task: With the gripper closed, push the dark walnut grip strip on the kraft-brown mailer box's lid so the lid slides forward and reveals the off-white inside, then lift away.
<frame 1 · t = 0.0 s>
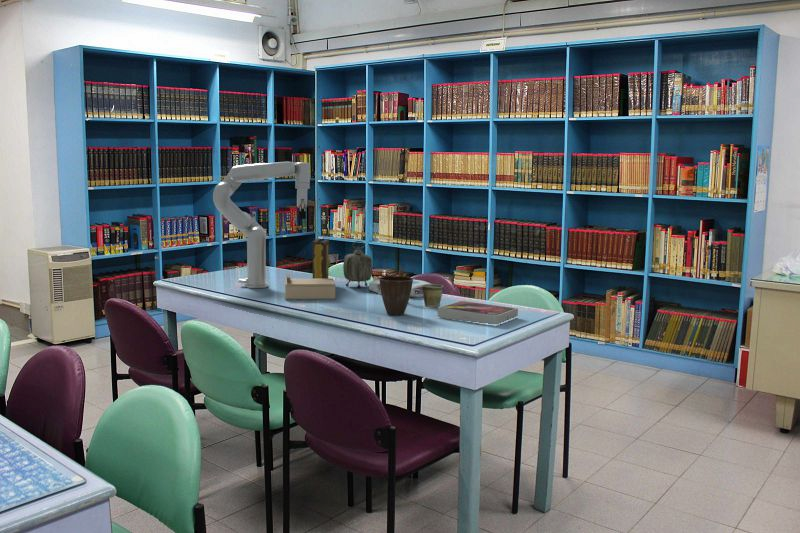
hand: (302, 218, 377), 37 cm above the table, tool pointing down, fingers open, 9 cm apart
hand bell: (399, 302, 345), on the table
plant pot: (395, 314, 315), on the table
product packaging: (477, 319, 311), on the table
mailer box: (309, 296, 353), on the table
grey rounded piece: (357, 287, 385), on the table
book: (320, 286, 383), on the table
ceramic cup: (433, 306, 336), on the table
mailer lid: (309, 279, 352), point 9 cm above the table, slide at 0.0 cm
document scanner: (401, 293, 371), on the table
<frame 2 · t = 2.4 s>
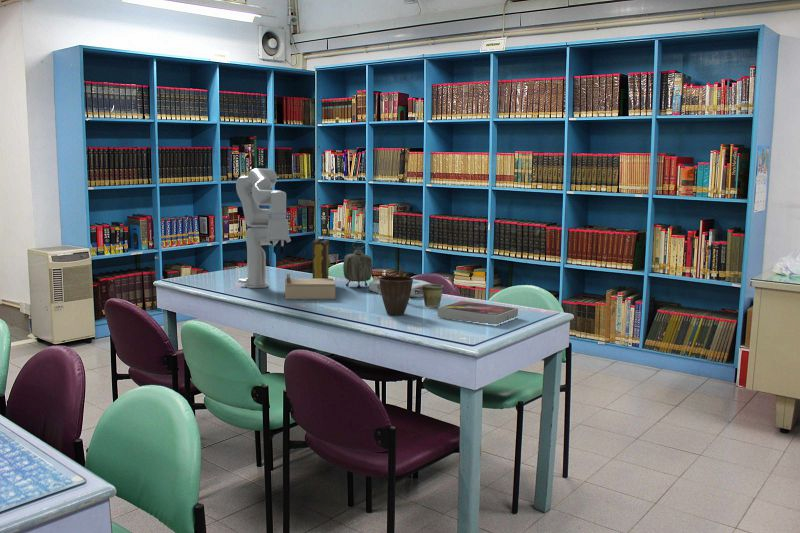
hand: (278, 253, 348), 21 cm above the table, tool pointing down, fingers closed
nothing on the table moved.
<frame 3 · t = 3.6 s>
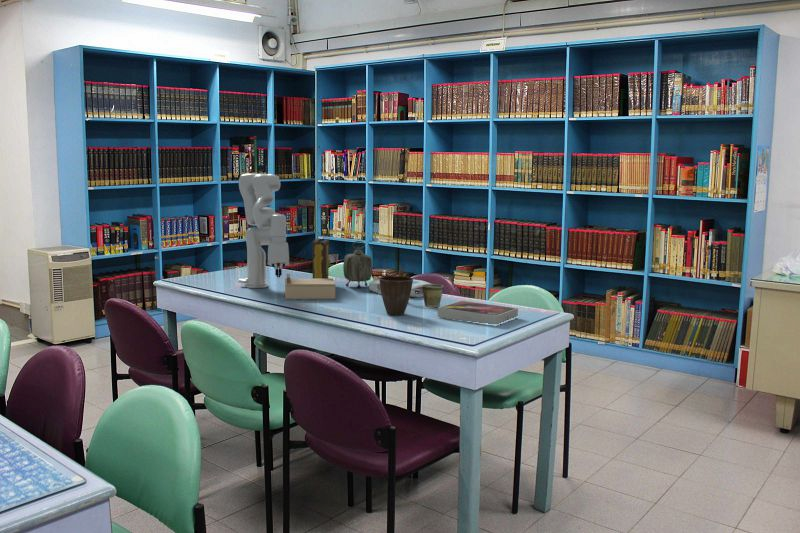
hand: (278, 276, 349), 10 cm above the table, tool pointing down, fingers closed
nothing on the table moved.
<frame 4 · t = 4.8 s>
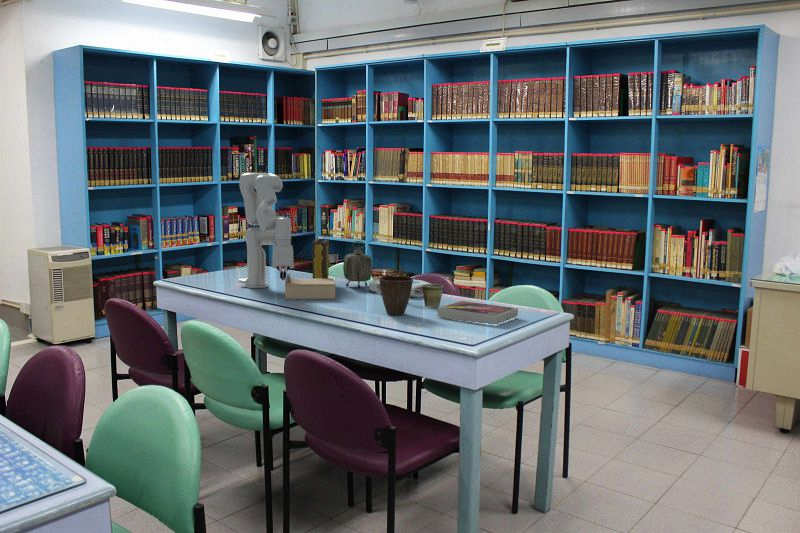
hand: (283, 279, 350), 8 cm above the table, tool pointing down, fingers closed
mailer lid: (310, 279, 352), point 9 cm above the table, slide at 0.1 cm, touching gripper
everything else where it was.
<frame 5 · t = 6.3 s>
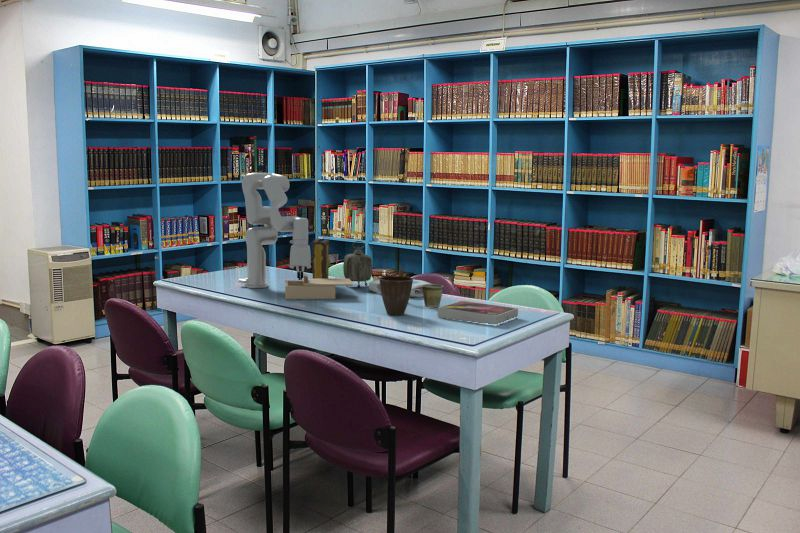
hand: (300, 279, 351), 8 cm above the table, tool pointing down, fingers closed
mailer lid: (327, 279, 353), point 9 cm above the table, slide at 8.5 cm, touching gripper
everything else where it was.
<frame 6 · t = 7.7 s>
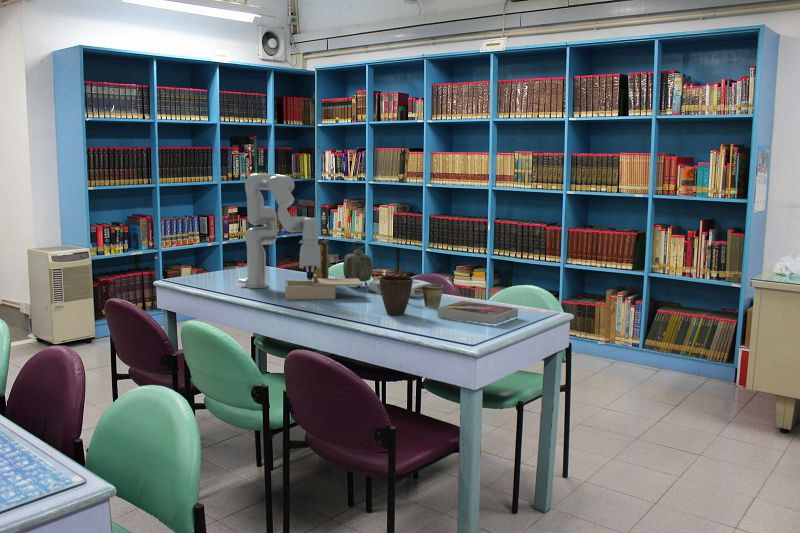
hand: (309, 279, 352), 8 cm above the table, tool pointing down, fingers closed
mailer lid: (336, 279, 354), point 9 cm above the table, slide at 13.2 cm, touching gripper
everything else where it was.
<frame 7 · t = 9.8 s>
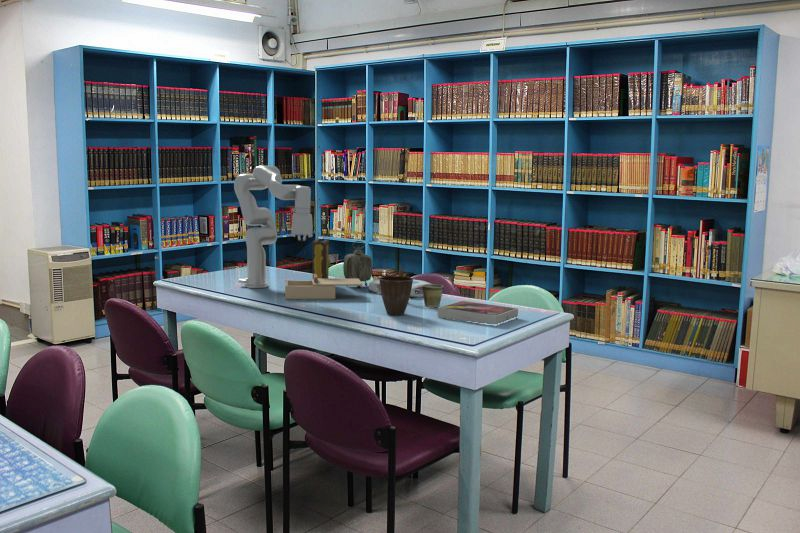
hand: (301, 248, 352), 24 cm above the table, tool pointing down, fingers closed
mailer lid: (336, 279, 354), point 9 cm above the table, slide at 13.2 cm
everything else where it was.
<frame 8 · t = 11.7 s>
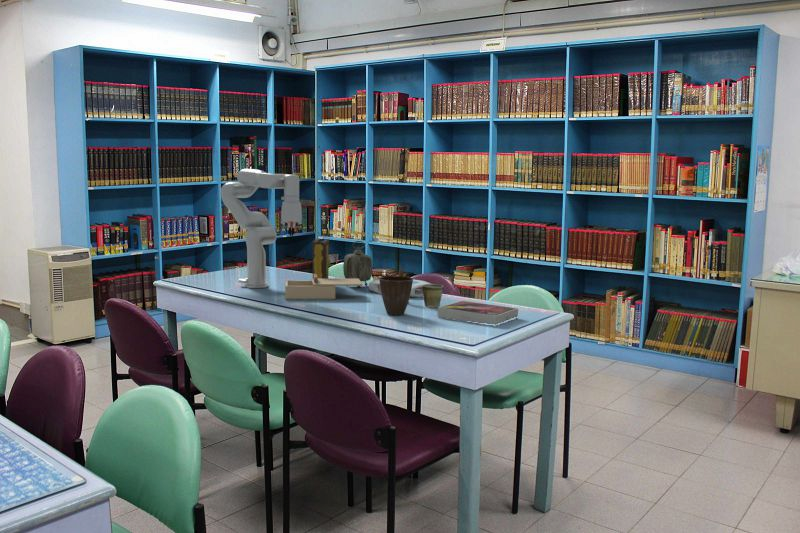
hand: (291, 235, 359), 29 cm above the table, tool pointing down, fingers closed
nothing on the table moved.
at the end: mailer lid slide at 13.2 cm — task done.
